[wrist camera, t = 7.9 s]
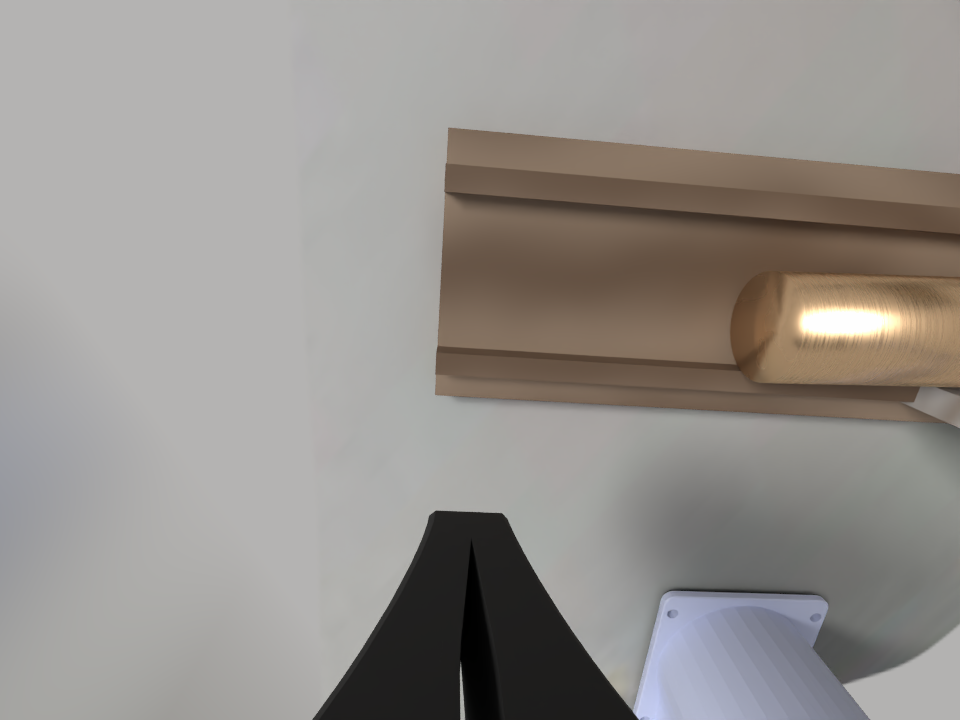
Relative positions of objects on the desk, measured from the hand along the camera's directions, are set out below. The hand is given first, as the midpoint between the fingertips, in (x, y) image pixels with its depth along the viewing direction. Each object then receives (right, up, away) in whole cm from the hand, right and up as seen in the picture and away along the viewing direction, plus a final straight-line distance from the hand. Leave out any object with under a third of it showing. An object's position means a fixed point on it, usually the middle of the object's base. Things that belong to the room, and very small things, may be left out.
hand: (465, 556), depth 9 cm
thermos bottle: (+17, +6, +8) cm, 20 cm away
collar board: (+12, +6, +9) cm, 16 cm away
